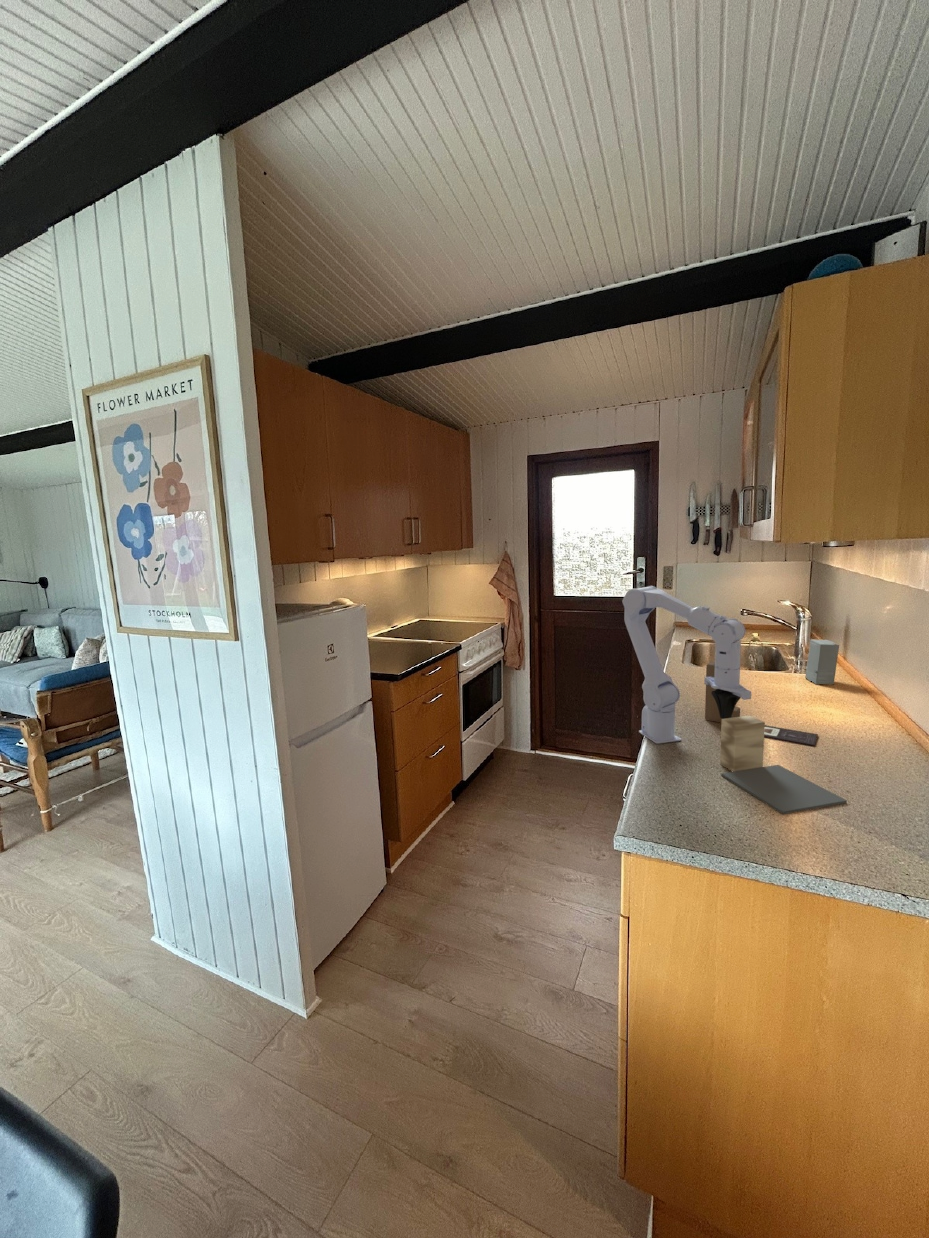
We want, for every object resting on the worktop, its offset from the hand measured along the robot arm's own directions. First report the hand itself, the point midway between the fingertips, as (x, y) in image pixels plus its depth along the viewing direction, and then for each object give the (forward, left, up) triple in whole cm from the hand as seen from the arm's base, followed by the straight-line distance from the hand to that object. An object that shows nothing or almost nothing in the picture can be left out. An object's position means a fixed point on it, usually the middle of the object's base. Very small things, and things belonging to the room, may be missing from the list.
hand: (725, 718), depth 130 cm
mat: (+18, 0, -10) cm, 21 cm away
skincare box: (-45, +78, -11) cm, 91 cm away
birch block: (+6, 0, -10) cm, 12 cm away
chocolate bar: (-8, +24, -11) cm, 28 cm away
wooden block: (-22, +17, -11) cm, 30 cm away
